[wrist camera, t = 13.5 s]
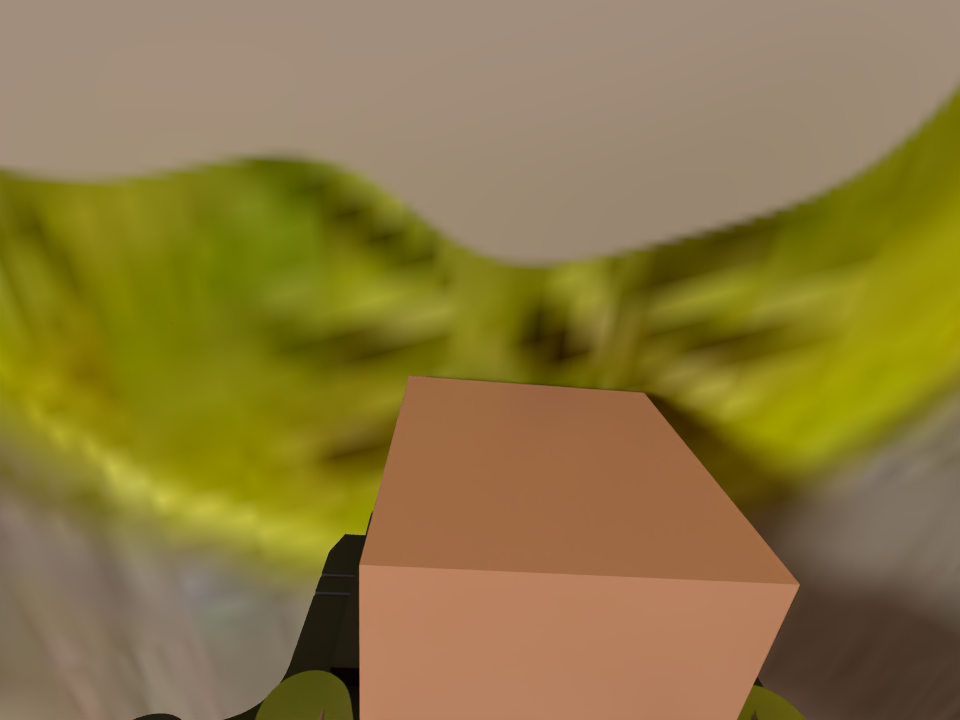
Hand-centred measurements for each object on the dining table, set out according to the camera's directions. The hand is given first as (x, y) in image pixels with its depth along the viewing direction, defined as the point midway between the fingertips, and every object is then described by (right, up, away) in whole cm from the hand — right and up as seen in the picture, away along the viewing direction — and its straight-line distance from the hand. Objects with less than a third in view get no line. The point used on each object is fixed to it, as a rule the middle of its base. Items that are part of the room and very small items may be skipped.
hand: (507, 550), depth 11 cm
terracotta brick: (0, 0, 0) cm, 1 cm away
